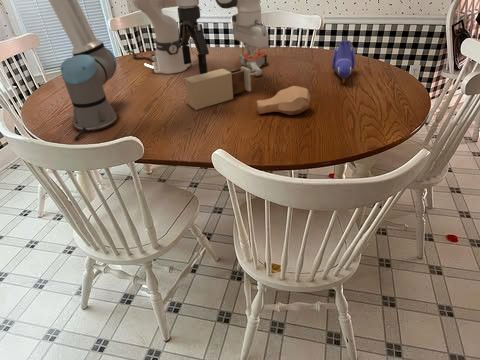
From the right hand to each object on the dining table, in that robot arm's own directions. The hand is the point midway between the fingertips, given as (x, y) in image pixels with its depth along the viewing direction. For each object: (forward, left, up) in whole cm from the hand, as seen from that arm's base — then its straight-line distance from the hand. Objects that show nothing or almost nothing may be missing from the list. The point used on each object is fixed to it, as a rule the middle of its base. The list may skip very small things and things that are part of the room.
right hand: (250, 55), depth 143 cm
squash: (+26, -1, -14) cm, 29 cm away
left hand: (+2, -25, 0) cm, 25 cm away
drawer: (0, -7, -13) cm, 15 cm away
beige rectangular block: (+1, -20, -14) cm, 24 cm away
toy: (+11, +39, -14) cm, 44 cm away
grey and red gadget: (-23, +13, -14) cm, 30 cm away
